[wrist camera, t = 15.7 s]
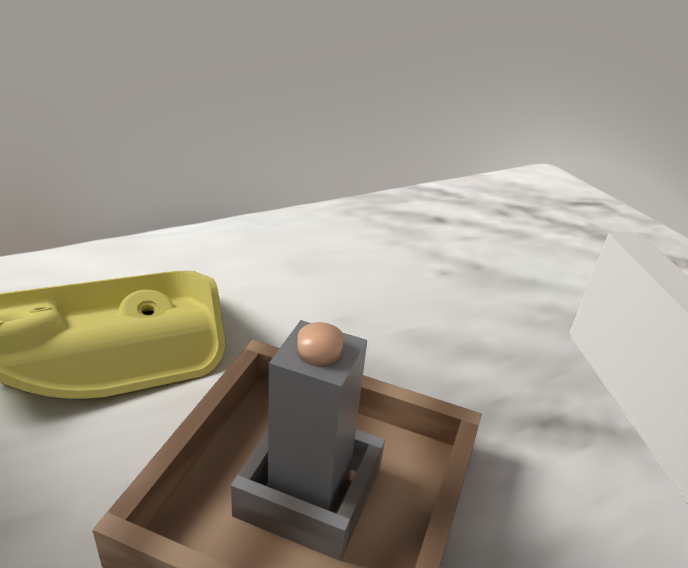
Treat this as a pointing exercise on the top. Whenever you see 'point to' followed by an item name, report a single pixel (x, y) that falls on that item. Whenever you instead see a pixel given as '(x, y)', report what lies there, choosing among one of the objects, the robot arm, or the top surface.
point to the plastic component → (110, 335)
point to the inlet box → (284, 510)
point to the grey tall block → (314, 413)
